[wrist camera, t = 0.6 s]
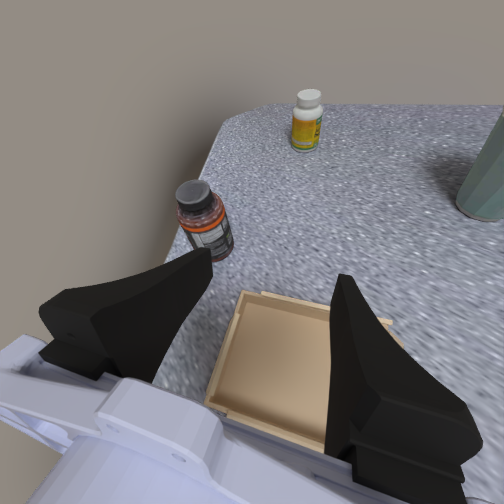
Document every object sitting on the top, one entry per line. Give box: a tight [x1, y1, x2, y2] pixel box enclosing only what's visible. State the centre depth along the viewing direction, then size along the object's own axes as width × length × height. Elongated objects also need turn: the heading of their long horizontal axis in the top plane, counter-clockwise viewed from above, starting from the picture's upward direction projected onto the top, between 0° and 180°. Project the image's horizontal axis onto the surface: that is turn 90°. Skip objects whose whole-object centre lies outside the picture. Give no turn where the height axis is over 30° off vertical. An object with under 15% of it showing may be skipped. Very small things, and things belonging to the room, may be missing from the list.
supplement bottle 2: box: [292, 89, 323, 153], centre depth 44 cm, size 5×5×10 cm
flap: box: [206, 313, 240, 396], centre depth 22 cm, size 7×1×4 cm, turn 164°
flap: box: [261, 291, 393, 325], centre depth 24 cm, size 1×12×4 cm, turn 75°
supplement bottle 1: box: [176, 180, 234, 262], centre depth 31 cm, size 6×6×11 cm
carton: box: [204, 290, 404, 454], centre depth 23 cm, size 14×18×4 cm
